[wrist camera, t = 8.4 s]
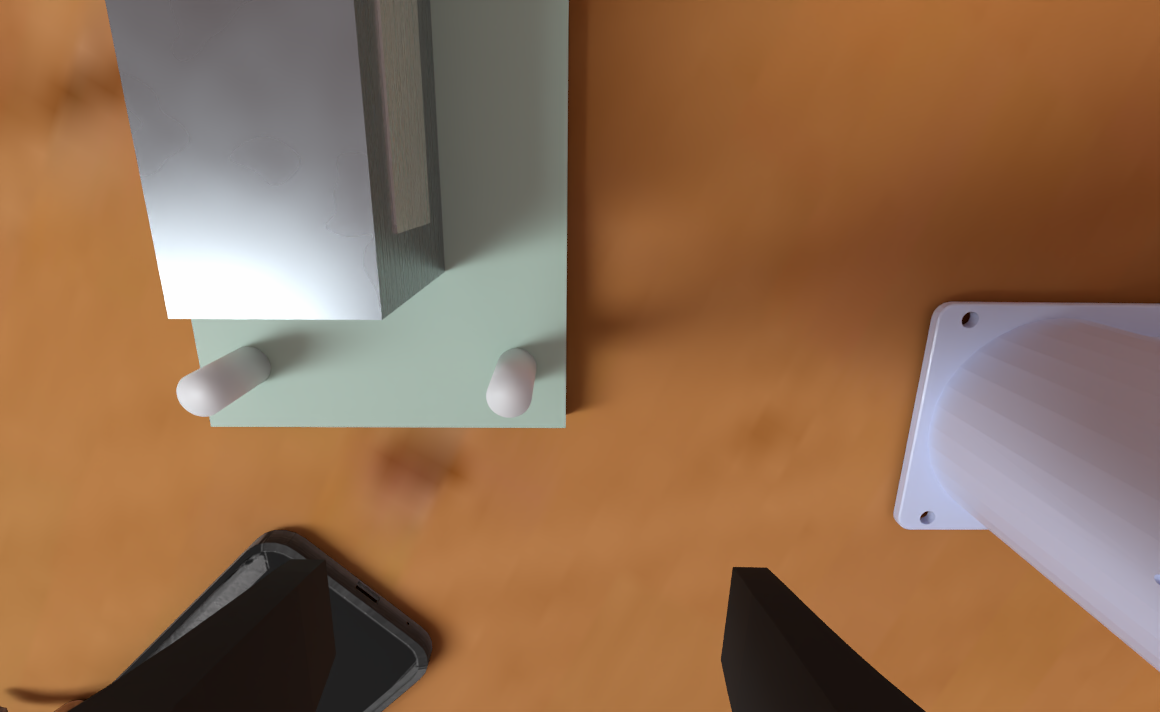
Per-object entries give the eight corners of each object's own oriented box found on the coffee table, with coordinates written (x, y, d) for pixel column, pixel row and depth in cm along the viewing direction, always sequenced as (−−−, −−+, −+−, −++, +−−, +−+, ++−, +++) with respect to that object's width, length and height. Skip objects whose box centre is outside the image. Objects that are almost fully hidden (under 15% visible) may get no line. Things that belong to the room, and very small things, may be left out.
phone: (26, 770, 22) (267, 530, 19) (51, 742, 23) (283, 512, 21) (199, 869, 24) (443, 663, 21) (215, 840, 25) (449, 640, 22)
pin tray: (570, -276, 14) (571, -419, 11) (565, 415, 19) (565, 465, 16) (105, -292, 14) (-43, -443, 10) (229, 414, 19) (157, 464, 16)
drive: (424, -147, 14) (323, -376, 8) (446, 271, 17) (384, 320, 11) (250, -152, 14) (25, -385, 8) (303, 270, 17) (165, 318, 11)
